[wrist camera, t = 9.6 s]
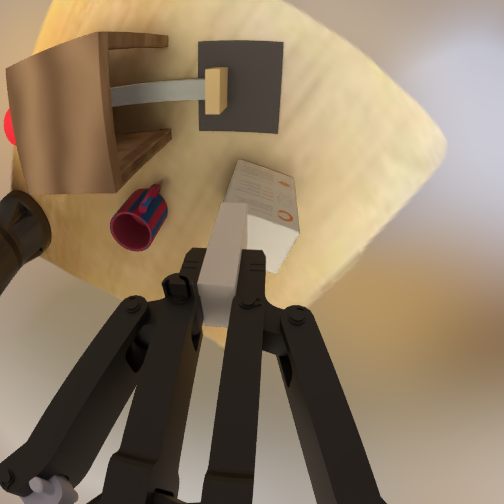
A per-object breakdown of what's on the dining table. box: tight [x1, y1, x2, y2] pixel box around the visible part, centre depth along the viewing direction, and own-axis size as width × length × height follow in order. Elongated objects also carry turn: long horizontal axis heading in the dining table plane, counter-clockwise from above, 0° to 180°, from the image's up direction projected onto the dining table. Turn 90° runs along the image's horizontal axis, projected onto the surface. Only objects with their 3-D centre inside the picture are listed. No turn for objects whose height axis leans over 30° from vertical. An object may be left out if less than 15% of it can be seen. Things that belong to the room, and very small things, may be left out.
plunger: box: [110, 67, 228, 114], centre depth 29 cm, size 22×9×6 cm, turn 88°
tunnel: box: [6, 32, 172, 195], centre depth 26 cm, size 20×14×16 cm
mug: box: [110, 183, 168, 251], centre depth 40 cm, size 7×10×7 cm
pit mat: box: [198, 40, 283, 134], centre depth 31 cm, size 10×12×1 cm
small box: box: [223, 159, 300, 274], centre depth 35 cm, size 8×6×13 cm
